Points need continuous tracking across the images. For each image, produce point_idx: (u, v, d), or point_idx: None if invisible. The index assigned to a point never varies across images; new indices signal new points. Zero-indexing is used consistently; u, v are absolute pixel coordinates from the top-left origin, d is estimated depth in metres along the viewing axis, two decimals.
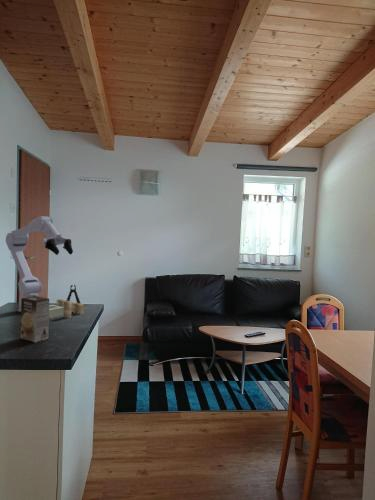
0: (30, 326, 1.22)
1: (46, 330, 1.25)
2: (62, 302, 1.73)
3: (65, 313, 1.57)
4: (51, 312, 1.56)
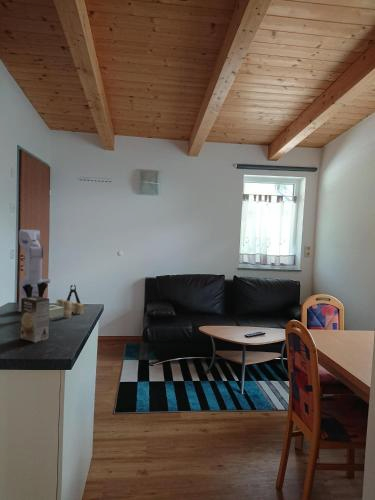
0: (30, 326, 1.22)
1: (46, 330, 1.25)
2: (62, 302, 1.73)
3: (65, 313, 1.57)
4: (51, 312, 1.56)
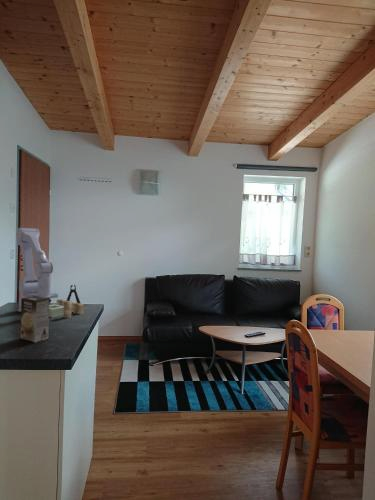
0: (30, 326, 1.22)
1: (46, 330, 1.25)
2: (62, 302, 1.73)
3: (65, 313, 1.57)
4: (54, 311, 1.57)
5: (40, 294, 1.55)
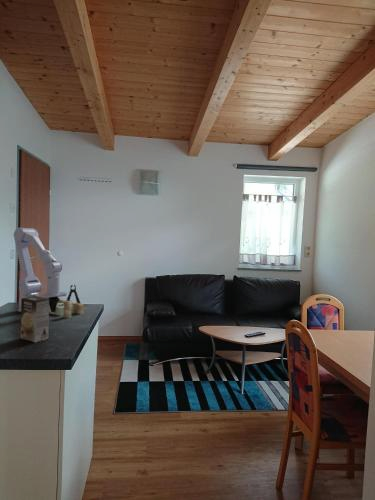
0: (30, 326, 1.22)
1: (46, 330, 1.25)
2: (62, 302, 1.73)
3: (65, 313, 1.57)
4: (62, 310, 1.61)
5: (49, 293, 1.59)
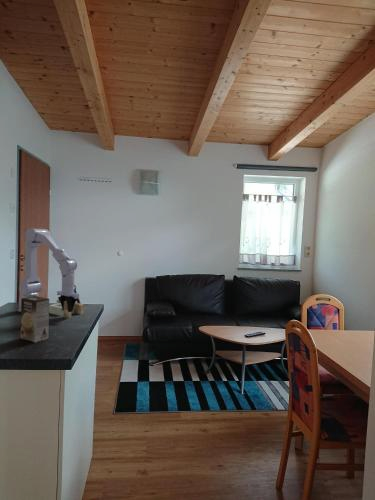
0: (30, 326, 1.22)
1: (46, 330, 1.25)
2: None
3: (65, 313, 1.57)
4: (62, 310, 1.61)
5: None
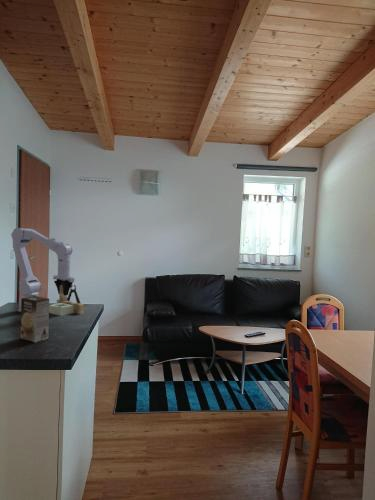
0: (30, 326, 1.22)
1: (46, 330, 1.25)
2: (62, 302, 1.73)
3: (61, 296, 1.62)
4: (62, 310, 1.61)
5: None
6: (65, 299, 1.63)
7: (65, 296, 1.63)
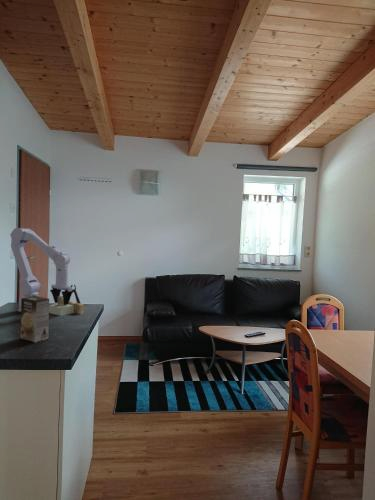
0: (30, 326, 1.22)
1: (46, 330, 1.25)
2: None
3: None
4: (62, 310, 1.61)
5: None
6: None
7: None
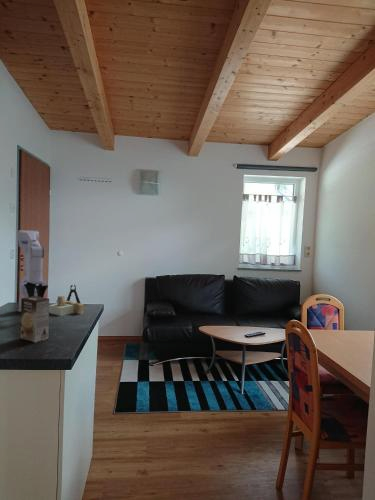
0: (30, 326, 1.22)
1: (46, 330, 1.25)
2: None
3: None
4: (62, 310, 1.61)
5: None
6: None
7: None
